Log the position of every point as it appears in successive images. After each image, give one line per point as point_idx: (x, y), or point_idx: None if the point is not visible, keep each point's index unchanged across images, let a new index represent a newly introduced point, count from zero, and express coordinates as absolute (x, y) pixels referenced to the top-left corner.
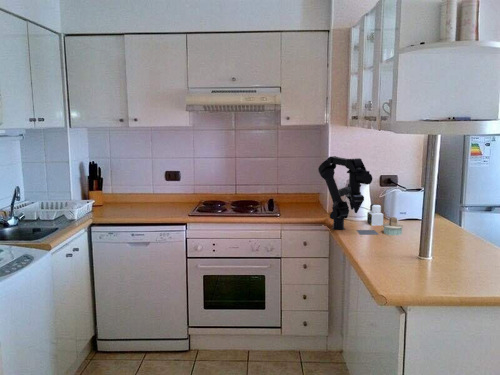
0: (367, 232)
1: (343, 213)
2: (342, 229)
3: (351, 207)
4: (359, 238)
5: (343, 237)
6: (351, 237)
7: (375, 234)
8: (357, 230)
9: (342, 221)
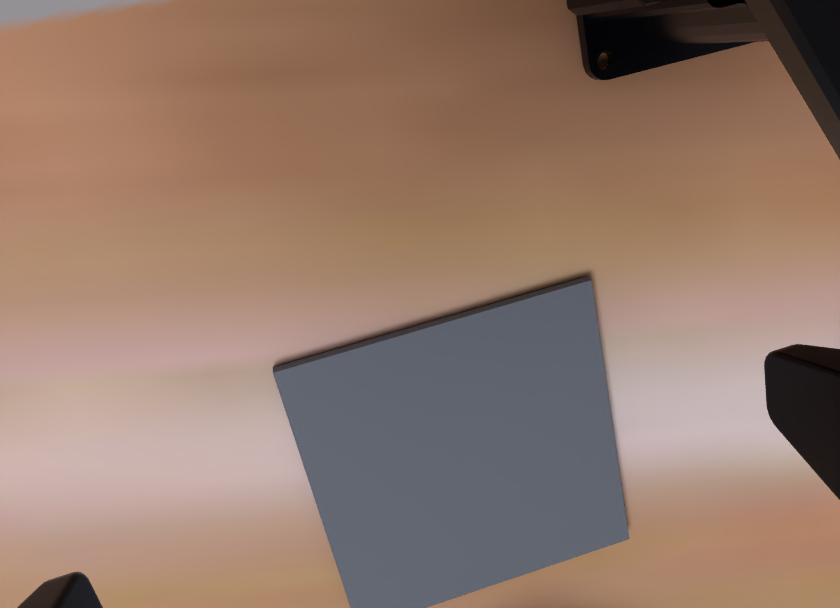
0: (455, 466)
1: (769, 21)
2: (582, 22)
3: (822, 395)
4: (50, 374)
5: (10, 68)
6: (72, 229)
7: (352, 585)
8: (563, 304)
9: (680, 7)
